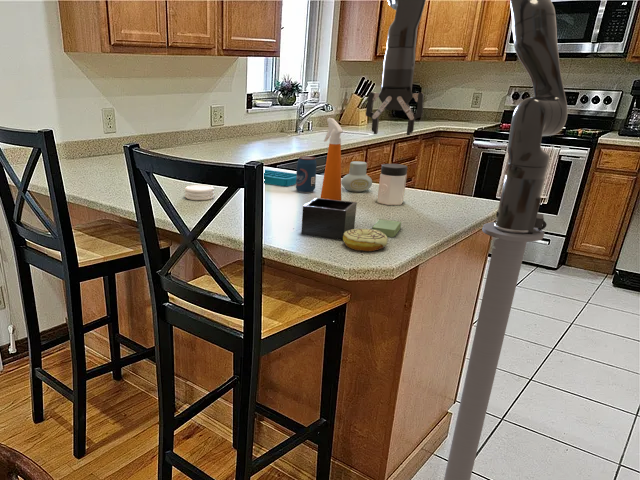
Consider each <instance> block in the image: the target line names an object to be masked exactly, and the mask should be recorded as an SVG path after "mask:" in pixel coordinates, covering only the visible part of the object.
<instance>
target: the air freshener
mask: <svg viewBox="0 0 640 480" xmlns="http://www.w3.org/2000/svg"><path fill="white" fill-rule="evenodd" d="M367 167H368V163H367V162H366V161H357V160H356V161H355V160H354V161H351V162H350V163H349V171H348V173H346V175H344V176H343V177H342V178H341V187H343V188H344V189H345V190H347V191H349V192H351V193H352V192H353V193H362V192H365V191H367V190H369V189H370V188H371V187H372V185H373V180H372V178H371V177H370V176H369V175H368V174H367V169H368V168H367Z"/></svg>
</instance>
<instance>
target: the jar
mask: <svg viewBox="0 0 640 480" xmlns="http://www.w3.org/2000/svg"><path fill="white" fill-rule="evenodd" d="M407 177H408V166H407V164H402V163H383V164H381V168H380V174H379V183H378V191H377V203H379V204H382V205H386V206H401V205H402V204H403V203H404V200H405V194H406V193H405V191H406V184H407Z"/></svg>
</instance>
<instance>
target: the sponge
mask: <svg viewBox="0 0 640 480" xmlns="http://www.w3.org/2000/svg"><path fill="white" fill-rule="evenodd" d="M401 227H402V221H397V220H390V219H381V218H380V219H378V220H377V222H376V223H374V225H372V227H371V229H373V230H378V231H381V232H382V233H384V234H385V235H386V236H387V238H388V237H389V238H395V237H396V235H397V234H398V233H399V231H400V230H401Z"/></svg>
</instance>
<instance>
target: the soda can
mask: <svg viewBox="0 0 640 480" xmlns="http://www.w3.org/2000/svg"><path fill="white" fill-rule="evenodd" d="M317 165H318V162H317V159H316V156H310V155H302V156H299V157H298V160H297V162H296V174H297V175H296V184H295V189H296V191H297V192H298V193H301V194H311V193H313V192H314V191H315V189H316V181H317V179H316V178H317Z"/></svg>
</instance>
